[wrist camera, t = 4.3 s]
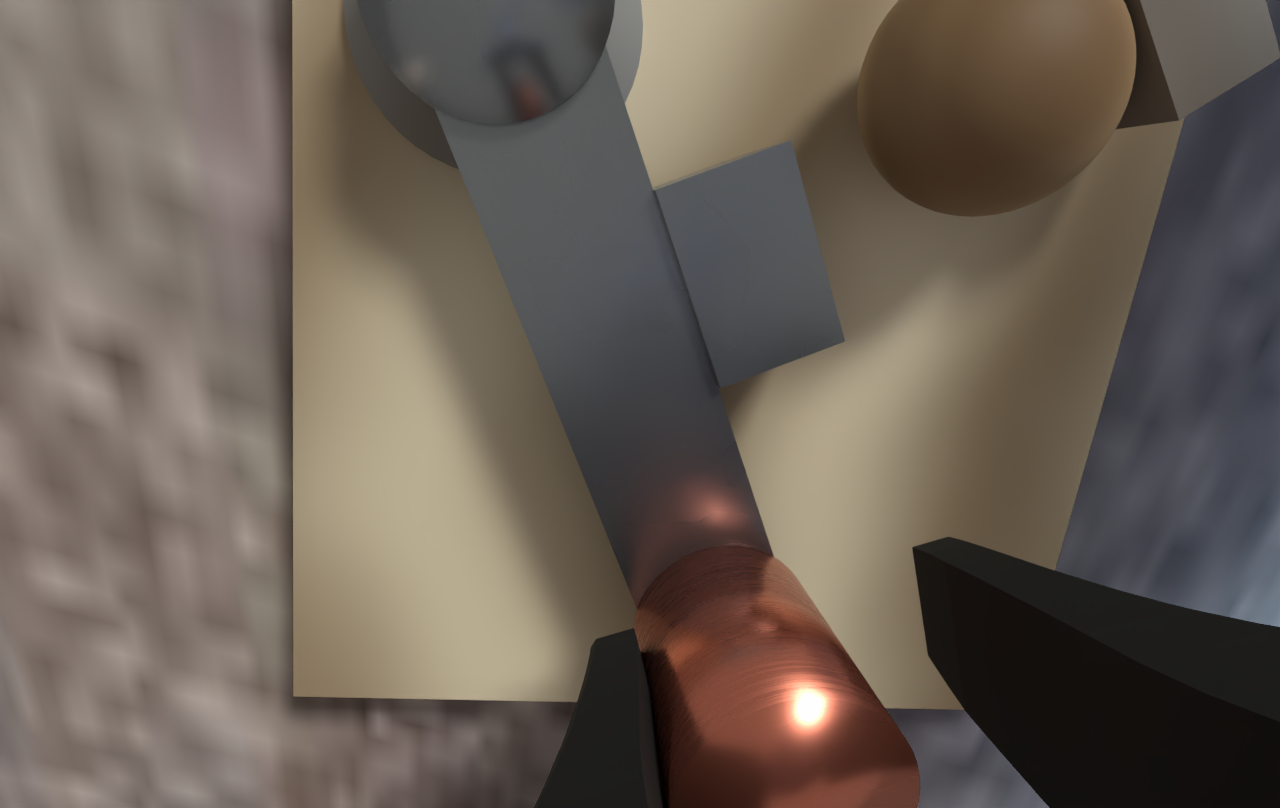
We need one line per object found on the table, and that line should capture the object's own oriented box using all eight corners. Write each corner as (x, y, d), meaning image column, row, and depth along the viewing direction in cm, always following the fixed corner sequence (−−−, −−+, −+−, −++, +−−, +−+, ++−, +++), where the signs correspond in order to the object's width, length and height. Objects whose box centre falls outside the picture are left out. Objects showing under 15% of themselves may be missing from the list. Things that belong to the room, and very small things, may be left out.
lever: (663, -172, 10) (782, -554, 5) (878, 585, 14) (1070, 803, 9) (347, -60, 10) (141, -334, 5) (648, 673, 14) (708, 947, 9)
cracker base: (1174, -30, 13) (1506, -156, 9) (983, 676, 17) (1145, 850, 12) (318, -199, 11) (155, -489, 6) (312, 658, 15) (206, 863, 10)
